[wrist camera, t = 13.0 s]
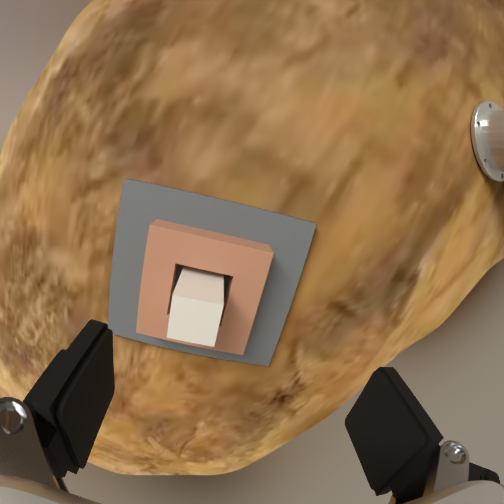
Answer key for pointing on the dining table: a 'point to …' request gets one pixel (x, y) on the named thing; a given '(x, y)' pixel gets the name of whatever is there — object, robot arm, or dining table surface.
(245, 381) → the dining table surface
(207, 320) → the plug
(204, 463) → the dining table surface
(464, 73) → the dining table surface
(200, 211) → the socket board
